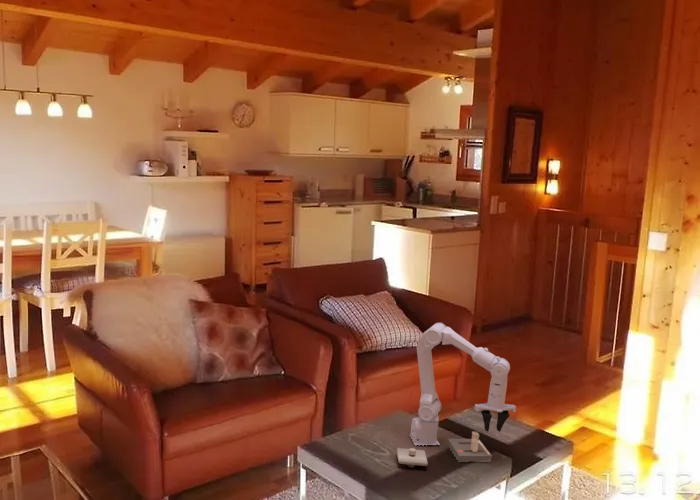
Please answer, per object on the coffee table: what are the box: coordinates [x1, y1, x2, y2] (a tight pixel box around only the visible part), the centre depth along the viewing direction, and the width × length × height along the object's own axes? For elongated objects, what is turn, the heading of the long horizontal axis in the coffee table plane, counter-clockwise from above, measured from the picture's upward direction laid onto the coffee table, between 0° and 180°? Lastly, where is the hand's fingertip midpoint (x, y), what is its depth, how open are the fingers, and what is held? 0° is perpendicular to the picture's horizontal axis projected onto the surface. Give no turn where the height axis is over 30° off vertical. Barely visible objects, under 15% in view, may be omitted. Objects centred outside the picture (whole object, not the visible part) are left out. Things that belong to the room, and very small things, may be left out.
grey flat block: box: [446, 438, 493, 463], centre depth 233 cm, size 12×13×2 cm
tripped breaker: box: [470, 438, 479, 452], centre depth 229 cm, size 2×3×4 cm
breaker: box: [471, 431, 480, 441], centre depth 236 cm, size 2×3×4 cm
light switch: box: [396, 447, 428, 469], centre depth 222 cm, size 10×10×5 cm
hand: (492, 430), depth 230 cm, fingers open, 4 cm apart
